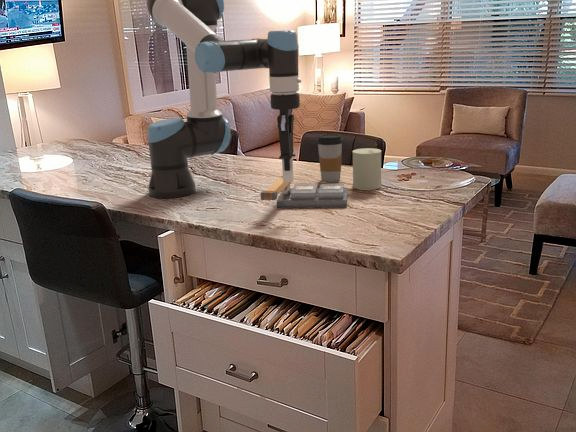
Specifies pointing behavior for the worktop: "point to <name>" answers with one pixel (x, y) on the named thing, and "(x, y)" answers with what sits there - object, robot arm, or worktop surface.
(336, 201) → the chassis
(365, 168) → the can
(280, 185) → the bar
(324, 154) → the coffee cup
